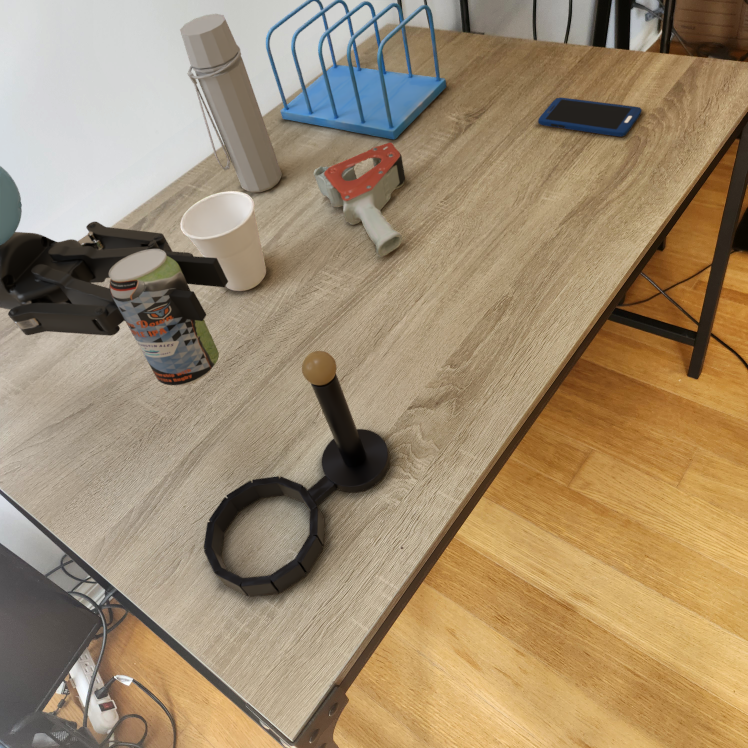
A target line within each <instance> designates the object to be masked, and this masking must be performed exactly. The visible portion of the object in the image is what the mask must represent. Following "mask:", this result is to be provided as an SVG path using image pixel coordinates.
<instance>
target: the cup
mask: <svg viewBox="0 0 748 748" xmlns="http://www.w3.org/2000/svg"><path fill="white" fill-rule="evenodd" d="M255 208H256V206H255V201H254V199H253V198H252V196H250V195H249V194H247V193H245V192H242V191H238V190H237V191H236V190H229V191H228V190H227V191H226V190H225V191H222V192H221V191H220V192H217V193H213V194H210V195H208V196H206V197H203V198H202V199H200V200H198V201H196V202H195V203H194V204H192V205H191V206H190V207H189V208H188V209H187V210H186V211H185V212H184V214H183V215H182V216H181V219H180V230H181V232H182V233H183V234H184V236H185V237H187V238H188V239H189V240H190V241H191V243H192V244H193V245H194V246H195V248H196V249H197V251H198V252H199V253H200V254H201V256H202V257H209V258H217V259H218V262H219V264H220V266H221V268H222V270H223V272H224V274H225V276H226V278H227V280H228V283H227V284H226V286H225V288H227V289H228V290H231V291H235V292H244V291H249V290H251V289H253V288H255V287H257V286H259V284H260V283H261V282H262V281H263V280H264V278H265V276H266V274H267V267H266V263H265V257H264V254H263V248H262V242H261V237H260V233H259V228H258V227H259V226H258V221H257V217H256V213H255Z"/></svg>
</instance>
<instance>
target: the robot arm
mask: <svg viewBox="0 0 748 748" xmlns="http://www.w3.org/2000/svg"><path fill="white" fill-rule="evenodd" d="M22 206H23V205H22V197H21V193H20V190H19V187H18V186H17V183H16V182H15V180H14V178H13V177H12V176H11V175H10V173H9V172H8V171H7V170H6V169H5V168H4V167H3V166H1V165H0V309H5V310H9V311H8V313H7V316H8V317H9V318H10V319H11V320H12V322H13V323H14V324H15V325H16V326H17V328H19V329H20V331H21V332H22V333H23V334H24V335H25V336H31V335H36V334H40V333H45V332H48V333H49V332H50V333H66V334H77V335H79V334H80V335H94V336H107V337H108V336H109V337H110V336H111V337H112V336H114V335H116V334H118V333H119V332H120V329H121V328H120V325H121V324H122V323H124V322H126V321H125V319H124V318H123V316H122V314H121V312H120V310H119V308H118V307H117V305H116V303H115V301H114V299H113V297H112V296H111V294H110V289H109V287H106V286H102V285H100V284H99V285H98V284H96V283H104V282H105V281H106V279H110V277H109V271H110V269H111V268H112V267H113V266H114V265H115V264H116V263H117V262H119V261H120V260H122V259H123V258H125V257H127V256H129V255H131V254H134V253H137V252H140V251H143V250H148V249H160V250H163V251H164V252H165V253H166V255H167V256H168V257H170V258H172V259H173V260H175V261H176V262H177V263H178V265H179V267H180V269H181V271H182V273H183V275H184V278H185V280H186V282H187V284H188V285H194V286H204V287H205V286H207V287H215V288H226V284H227V283H228V280H227V278H226V276H225V274H224V272H223V270H222V268H221V266H220V264H219V262H218V259H217V258H209V257H203V256H196V255H195V256H194V254H193V253H190V252H185V251H184V252H183V251H173V250H172V248H171V246H170V244H169V242H168V240H167V239H166V236H165V235H164V234H163V233H161V232H153V231H146V230H145V231H144V230H136V229H127V228H119V227H111V226H110V227H109V226H105V225H103V224H101V223H100V222H98V221H91V222H89V223H88V224H87V225H86V226H85V227H86V229H87V231H88V233H87V234H86V235H84V236H83V237H81V238H80V239H78V240H76V239H73V238H72V239H71V238H70V239H65V240H61V241H56V240H53V239H51V238H49V237H48V236H45V235H42V234H40V233H36V232H26V231H25V232H23V231H17V229H18V227H19V225H20V223H21V219H22V213H23V211H22ZM169 297H170V298H171V299H172V301H173V302H174V303H175V305H176V306H177V308H178V309H179V310H180V312H181V313H182V314H183V316H184V317H185V318H186V319H188V320H197V321H203V320H204V321H205V318H206V317H207V312H206V311H205V309H204V307H203V305H202V304H201V302H200V300H199V298H198V297H197V295H196V293H195V291H193V290H190V291H184V290H174V291H173V292H172V293H171V294H170V295H169Z"/></svg>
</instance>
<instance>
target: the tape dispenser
mask: <svg viewBox="0 0 748 748" xmlns="http://www.w3.org/2000/svg"><path fill="white" fill-rule="evenodd" d="M369 159H372V163H373V167H372V168H371V169H369V170H368V171H366V172H364V173H363V174H362V175H360V176H359V177H358V178H357V175H356V171H355V166H356V164H359V163H361V162H364V161H367V160H369ZM313 176H314V178H315V181H316V184H317V186H318V189H319V191H320V193H321V195H322V196H323V197H327V198H328V200H329V202H330V206H331V207H332V208H338V207H342V209H343V210H342V212H343V216H344V219H345V222H346V223H349V224H350V225H353V226H354V225H357V224H359V223H361V224H362V226H363V227H364V230H365V232H366V233H367V235H368V237H369V239H370V240H371V241H372V243H373V244H374V245H375V253H376V255H377V256H378V257H385V256H387V255H388V254H390V253H391V252H394V250H397V249H398V248H399V247H400V245H401V243H402V241H403V237H402V236H403V235H402V233H401V232H399V231H397V230H395V229H394V228H393V225H392V223H390V222H388V220H387V218H386V217H385V216H384V215H383V213H382V211H381V210H382V209H383V208H384V207H385V206H386V204H387V203H388V202H389V201H390V200H391V198H392V195H391V194H392V193H393V192H394V191H395V190H397V189H400V188H401V187H403V186H404V184H405V180H406V175H405V168H404V163H403V158H402V154H401V152H400V151H399V150H398V149H397V148H396V147H395V145H394V143H392V142H387V143H384V144H381V145H377V146H373V147H371V149H368V150H367V151H364V152H361V153H359V154H357V155H354V156H352V157H349V158H347V159H345V160H343V161H341V162H338V163H335V164H333V165H331V166H327V165H326V166H321V165H319V166H318V167H317V168H315V169H314V171H313Z"/></svg>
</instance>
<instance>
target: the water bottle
mask: <svg viewBox="0 0 748 748" xmlns="http://www.w3.org/2000/svg"><path fill="white" fill-rule="evenodd" d="M225 17H226V16H225V15H224V14H221V13H211V14H205V15H202V16H198V17H195V18H193V19H191V20H190V21H188V22H186V23H184V24H183V26H182V27H181V28H180V29H179V31H180V35H181V38H182V41H183V45H184V48H185V51H186V55H187V57H188V61H189V64H190V67H189V69H188V70H187V73H186V74H187V76H188V78H189V79H190V81H191V83H192V84H193V86H194V89H195V92H196V96H197V100H198V103H199V106H200V110H201V114H202V117H203V120H204V123H205V127H206V130H207V133H208V137H209V140H210V141H209V142H210V144H211V148H212V151H213V154H214V156H215V159H216V161H217V163H218V165H219V166H220V167H221V169H222V170H223V171H227V170H230V169H231V164H232V167H233V169H234V171H235V174H236V176H237V179H238V181H239V184H240V187H241V189H242V190H244V191H247V192H249V193H252V194H253V193H262V192H265V191H268V190H271V189H272V188H274V187H275V186H276V185H278V184H279V183H280V181H281V178H282V176H283V172H282V170H281V167H280V164H279V161H278V158H277V156H276V152H275V150H274V147H273V143H272V141H271V137H270V136H269V132H268V129H267V127H266V124H265V120H264V118H263V114H262V112H261V109H260V106H259V103H258V101H257V96H256V95H255V92H254V88H253V86H252V83H251V80H250V77H249V74H248V71H247V69H246V66H245V62H244V60H243V56H242V53H241V48H240V46H239V45H238V44H237V42H236V40H235V38H234V35H233V33H232V31H231V29H230V26H229V24H228V22H227V20H226V18H225ZM192 70H193V71H194V72H195V75H194V73H193V72H192ZM198 83H199V86H200V89H201V90H202V92H203V95H204V97H203V96H202V94H201V91H200V89H199V86H198V85H197V84H198ZM204 98H205V100H204ZM205 101H206V102H205ZM206 103H207V105H208V107H209V109H208V107H207V105H206ZM204 108H205V111H206V113H207V115H208V118H209V120H210V122H211V125H212V128H213V129H214V132H215V133H216V136H217V138H218V141H219V143H220V145H221V147H222V150H223V152H224V154H225V156H226V159H227V162H226V166H223V165H222V163H221V160H220V159H219V157H218V154H217V150H216V147H215V143H214V140H213V137H212V134H211V131H210V128H209V127H210V126H209V124H208V121H207V118H206V114H205V111H204ZM209 110H210V111H209ZM210 112H211V114H210ZM211 115H212V116H211ZM214 121H215V123H214Z"/></svg>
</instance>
